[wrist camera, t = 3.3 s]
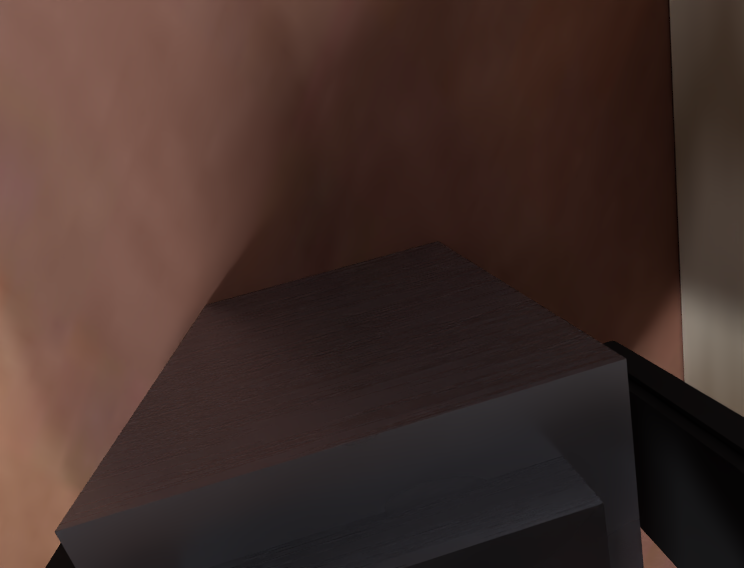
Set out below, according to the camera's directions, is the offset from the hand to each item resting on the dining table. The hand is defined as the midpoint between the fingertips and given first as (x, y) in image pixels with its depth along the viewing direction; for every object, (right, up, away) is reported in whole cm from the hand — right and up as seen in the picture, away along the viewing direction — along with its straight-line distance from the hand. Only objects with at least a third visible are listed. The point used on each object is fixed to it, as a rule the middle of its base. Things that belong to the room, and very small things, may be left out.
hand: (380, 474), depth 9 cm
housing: (0, 0, +2) cm, 2 cm away
